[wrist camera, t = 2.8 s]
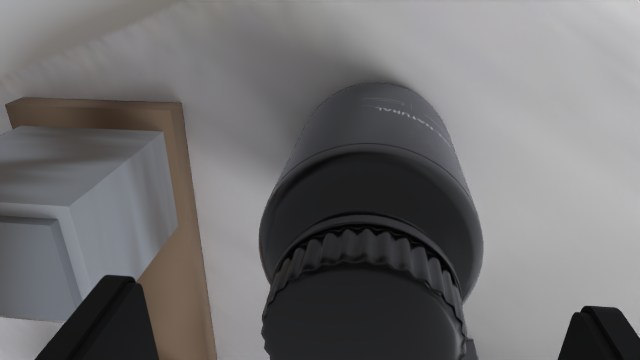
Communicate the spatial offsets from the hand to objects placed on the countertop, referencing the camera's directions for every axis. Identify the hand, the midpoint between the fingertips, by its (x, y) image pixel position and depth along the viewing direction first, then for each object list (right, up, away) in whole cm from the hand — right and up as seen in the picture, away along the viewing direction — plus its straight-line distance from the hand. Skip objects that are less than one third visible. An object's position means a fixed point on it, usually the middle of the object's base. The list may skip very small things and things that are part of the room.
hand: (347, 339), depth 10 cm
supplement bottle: (+2, +5, +11) cm, 12 cm away
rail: (-11, -3, +17) cm, 20 cm away
